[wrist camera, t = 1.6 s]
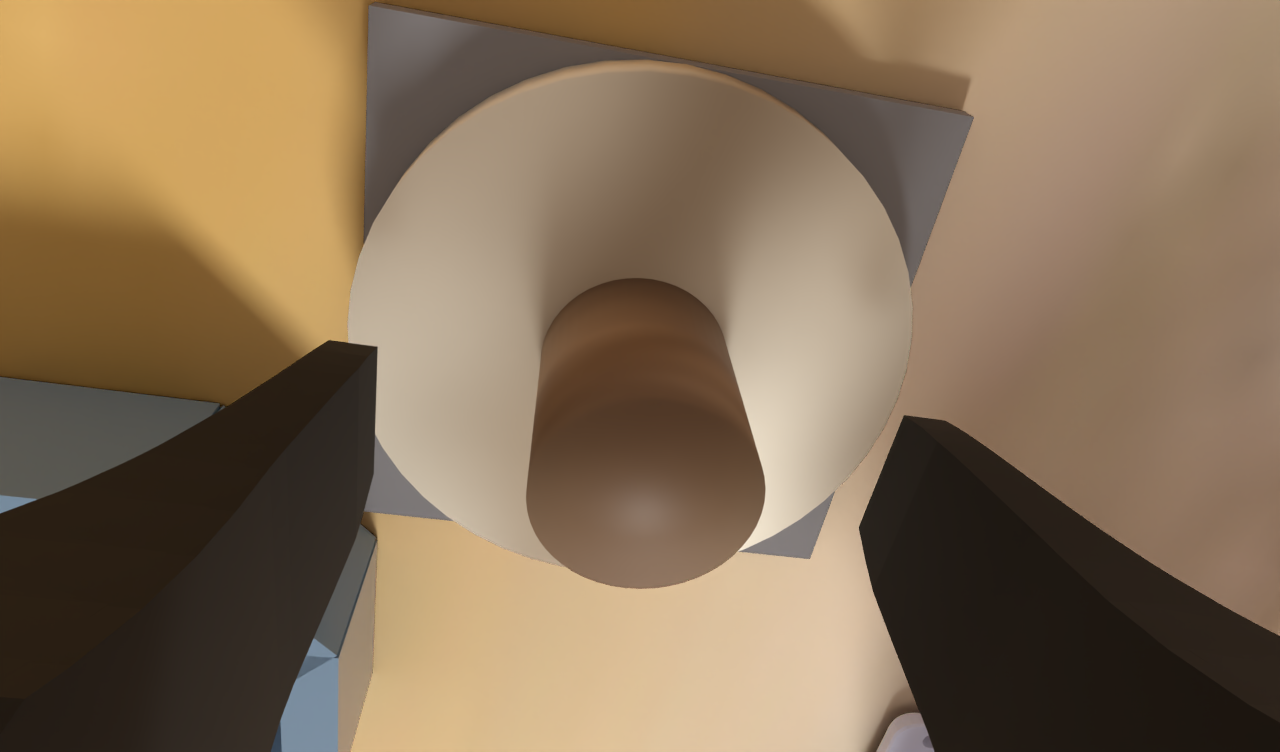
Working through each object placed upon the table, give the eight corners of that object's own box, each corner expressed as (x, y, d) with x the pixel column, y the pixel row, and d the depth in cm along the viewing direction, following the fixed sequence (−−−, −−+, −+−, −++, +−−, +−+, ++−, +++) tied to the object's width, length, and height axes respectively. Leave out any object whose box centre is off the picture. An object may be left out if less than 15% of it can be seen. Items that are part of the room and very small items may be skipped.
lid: (973, 117, 13) (1140, 216, 9) (809, 559, 17) (873, 754, 13) (369, 4, 12) (257, 62, 8) (358, 510, 16) (282, 708, 12)
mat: (964, 110, 13) (973, 116, 13) (805, 546, 18) (810, 559, 17) (375, 2, 12) (368, 5, 12) (363, 497, 16) (358, 510, 16)
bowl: (381, 423, 16) (339, 530, 13) (369, 753, 20) (337, 880, 18) (-199, 352, 14) (-374, 456, 12) (-68, 722, 19) (-173, 855, 16)
